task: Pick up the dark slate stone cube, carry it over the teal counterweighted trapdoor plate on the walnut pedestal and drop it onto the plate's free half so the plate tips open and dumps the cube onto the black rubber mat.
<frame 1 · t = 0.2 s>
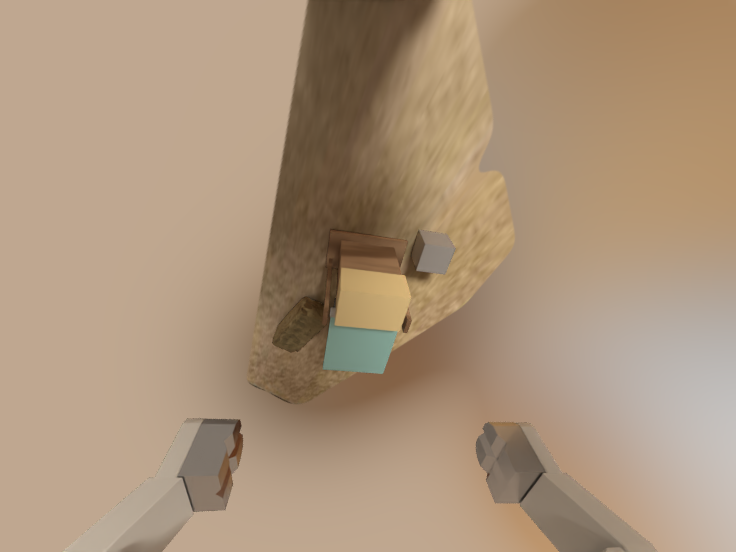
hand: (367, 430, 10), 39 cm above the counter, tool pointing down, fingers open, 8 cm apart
trapdoor: (362, 330, 43), point 13 cm above the counter, hinge at 0.0°
stone cube: (428, 244, 51), on the counter
trapdoor frame: (362, 265, 52), on the counter
stone block: (301, 316, 59), on the counter
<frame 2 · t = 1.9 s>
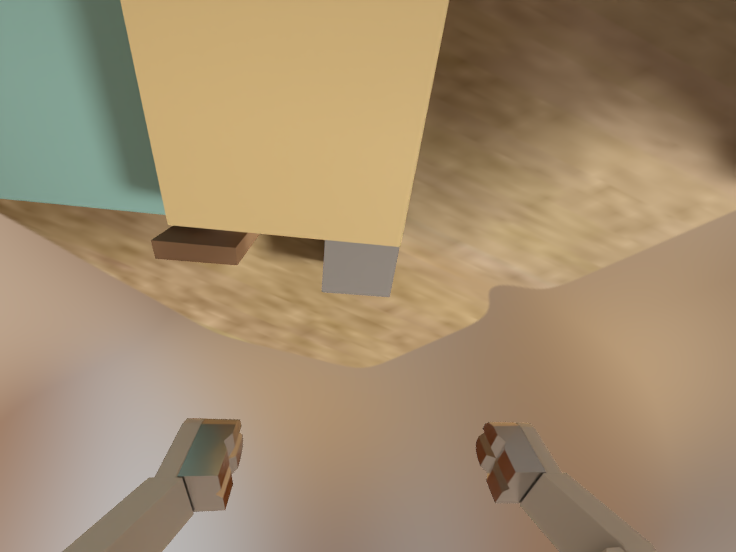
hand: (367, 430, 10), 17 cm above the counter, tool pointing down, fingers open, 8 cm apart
stone cube: (357, 237, 25), on the counter
trapdoor frame: (282, 76, 19), on the counter
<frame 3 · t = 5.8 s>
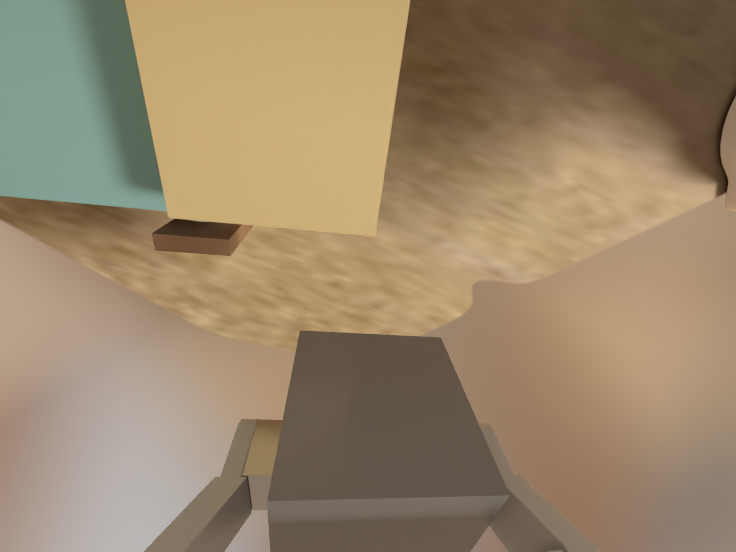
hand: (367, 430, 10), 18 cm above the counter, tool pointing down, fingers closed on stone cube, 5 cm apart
trapdoor: (63, 20, 8), point 13 cm above the counter, hinge at 0.0°
stone cube: (363, 383, 11), point 16 cm above the counter, touching gripper
trapdoor frame: (271, 83, 20), on the counter
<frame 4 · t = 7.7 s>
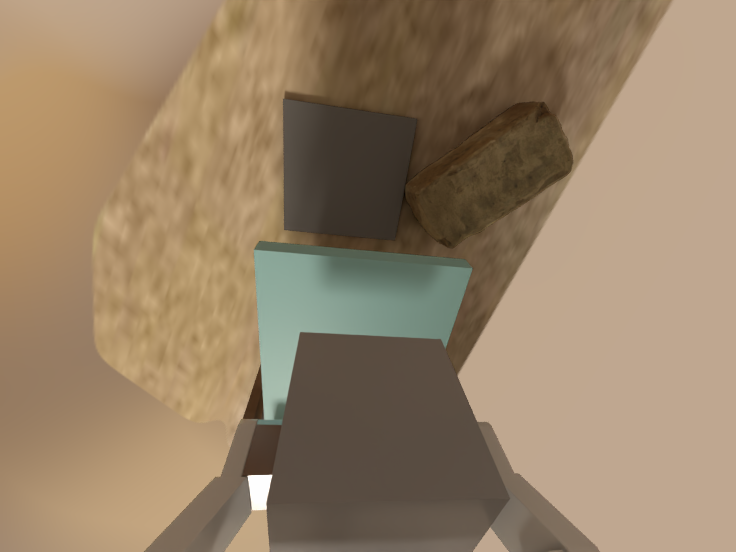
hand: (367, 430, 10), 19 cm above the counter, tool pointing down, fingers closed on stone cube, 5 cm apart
trapdoor: (348, 387, 18), point 13 cm above the counter, hinge at 0.0°
stone cube: (364, 385, 11), point 17 cm above the counter, touching gripper
trapdoor frame: (343, 306, 31), on the counter
rubber mat: (346, 177, 24), on the counter
stone block: (467, 173, 25), on the counter
when the fingers open (19 cm above the counter, at t = 8.1 s): stone cube drops 7 cm, resting on trapdoor.
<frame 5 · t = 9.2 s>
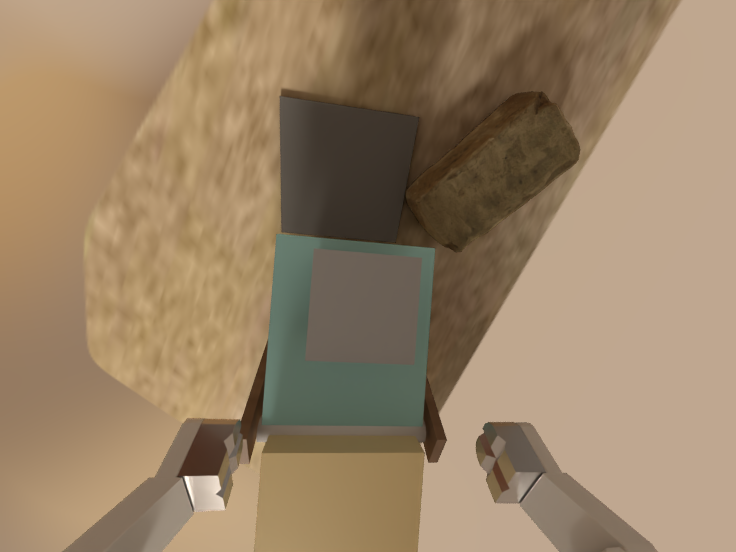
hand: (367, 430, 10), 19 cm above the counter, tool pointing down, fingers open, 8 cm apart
trapdoor: (347, 382, 19), point 12 cm above the counter, hinge at -29.6°, touching stone cube
stone cube: (355, 299, 18), point 9 cm above the counter, tilted 30°, touching trapdoor
trapdoor frame: (343, 309, 30), on the counter
rubber mat: (345, 177, 24), on the counter
stone block: (469, 171, 24), on the counter
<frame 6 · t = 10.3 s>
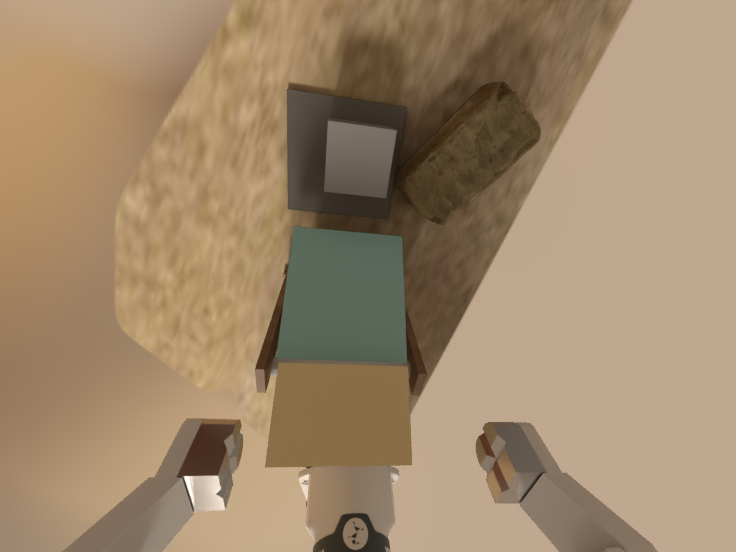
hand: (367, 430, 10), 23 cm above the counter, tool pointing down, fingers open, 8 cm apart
trapdoor: (344, 329, 24), point 11 cm above the counter, hinge at -53.4°
stone cube: (359, 162, 22), point 5 cm above the counter, tilted 180°, touching rubber mat
trapdoor frame: (342, 280, 34), on the counter
rubber mat: (343, 161, 27), on the counter
stone block: (450, 154, 28), on the counter
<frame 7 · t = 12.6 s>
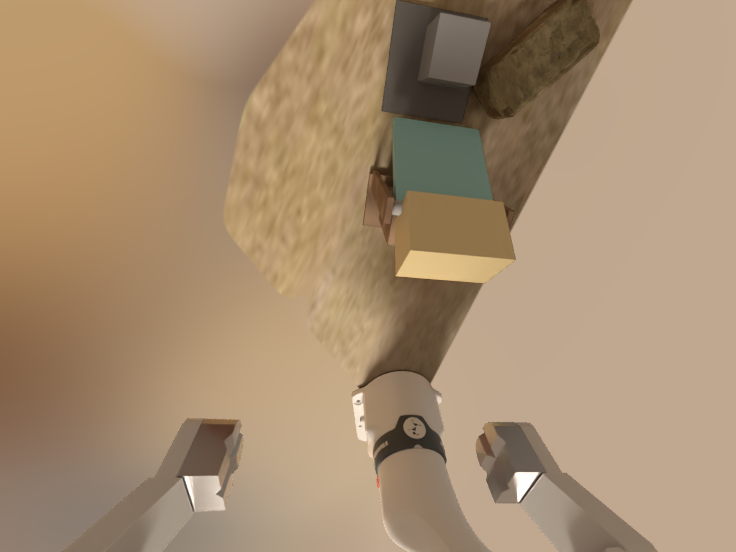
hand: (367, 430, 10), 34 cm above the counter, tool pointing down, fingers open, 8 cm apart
trapdoor: (442, 188, 30), point 11 cm above the counter, hinge at -53.4°
stone cube: (458, 50, 28), point 5 cm above the counter, tilted 180°, touching rubber mat
trapdoor frame: (416, 184, 40), on the counter
rubber mat: (431, 67, 33), on the counter
stone block: (518, 65, 34), on the counter
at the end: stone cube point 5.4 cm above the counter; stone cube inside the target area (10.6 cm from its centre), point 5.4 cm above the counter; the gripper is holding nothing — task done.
